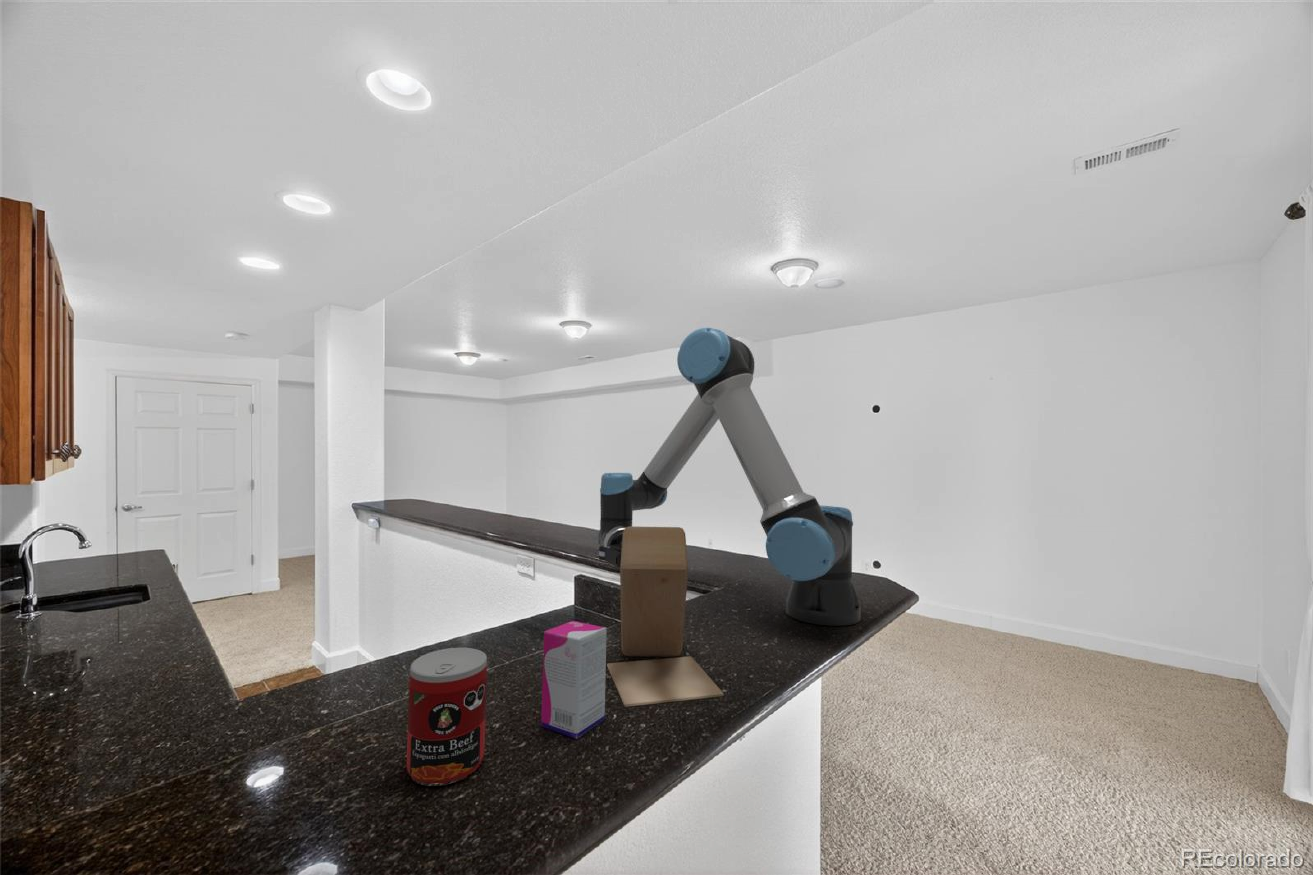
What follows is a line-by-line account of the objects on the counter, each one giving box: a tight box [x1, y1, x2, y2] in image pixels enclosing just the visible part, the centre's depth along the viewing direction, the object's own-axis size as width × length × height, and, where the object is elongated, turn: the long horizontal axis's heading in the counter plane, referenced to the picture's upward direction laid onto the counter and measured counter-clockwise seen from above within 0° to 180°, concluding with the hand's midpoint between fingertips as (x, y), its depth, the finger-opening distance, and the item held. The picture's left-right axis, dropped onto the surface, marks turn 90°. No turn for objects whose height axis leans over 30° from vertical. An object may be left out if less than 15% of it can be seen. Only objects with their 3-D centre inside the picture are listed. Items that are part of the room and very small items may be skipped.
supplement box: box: [540, 620, 607, 740], centre depth 65 cm, size 6×6×12 cm
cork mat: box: [606, 656, 725, 708], centre depth 78 cm, size 14×14×1 cm
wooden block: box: [619, 525, 689, 658], centre depth 85 cm, size 10×10×20 cm
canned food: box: [406, 647, 488, 783], centre depth 56 cm, size 8×8×11 cm
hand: (647, 568), depth 91 cm, fingers closed
